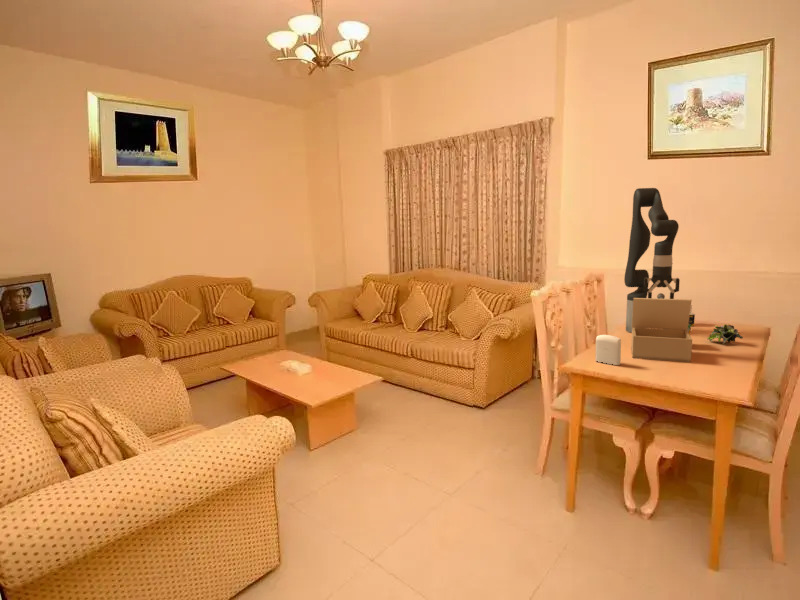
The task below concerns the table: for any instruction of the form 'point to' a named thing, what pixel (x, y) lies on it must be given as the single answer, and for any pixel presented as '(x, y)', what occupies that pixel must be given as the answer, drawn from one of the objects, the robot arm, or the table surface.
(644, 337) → the carton
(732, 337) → the green leafy plant
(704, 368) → the table surface
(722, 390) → the table surface
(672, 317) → the carton flap
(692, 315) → the medicine bottle
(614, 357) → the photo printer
